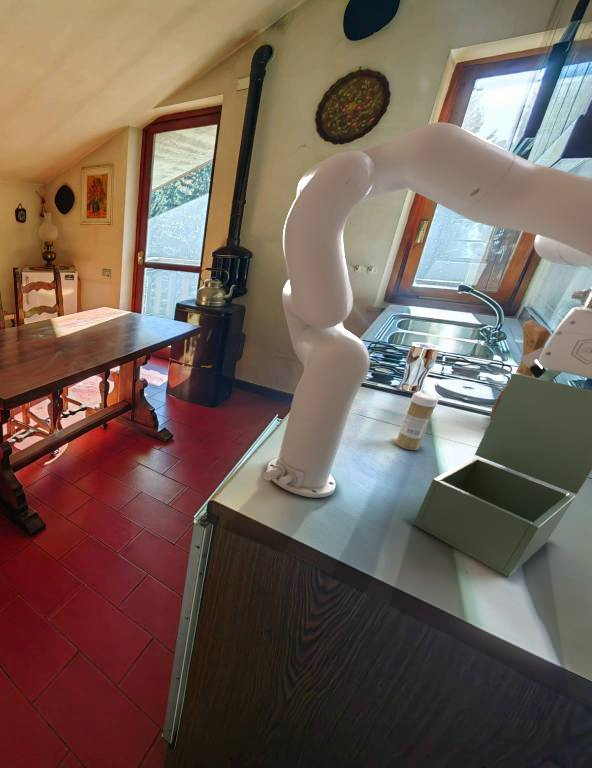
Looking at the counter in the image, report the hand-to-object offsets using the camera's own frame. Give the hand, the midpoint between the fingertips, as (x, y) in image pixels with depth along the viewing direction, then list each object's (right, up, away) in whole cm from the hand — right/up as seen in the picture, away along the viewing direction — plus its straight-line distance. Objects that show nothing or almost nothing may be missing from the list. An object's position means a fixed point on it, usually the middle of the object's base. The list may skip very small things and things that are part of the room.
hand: (563, 411), depth 65 cm
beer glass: (+27, +2, +62) cm, 67 cm away
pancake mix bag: (+32, -7, +39) cm, 51 cm away
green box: (-11, -21, +3) cm, 24 cm away
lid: (-5, -3, -1) cm, 6 cm away
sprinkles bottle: (-1, -11, +30) cm, 31 cm away
